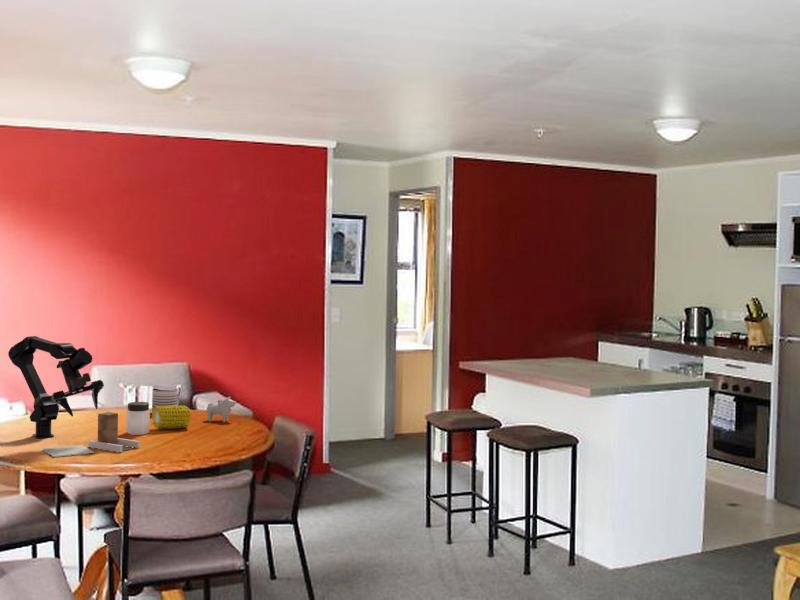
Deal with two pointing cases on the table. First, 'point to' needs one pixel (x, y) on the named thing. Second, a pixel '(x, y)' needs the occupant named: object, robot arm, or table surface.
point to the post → (108, 427)
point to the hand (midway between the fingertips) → (84, 412)
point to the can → (164, 396)
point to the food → (171, 417)
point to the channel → (115, 447)
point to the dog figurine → (220, 408)
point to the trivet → (67, 450)
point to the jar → (138, 418)
